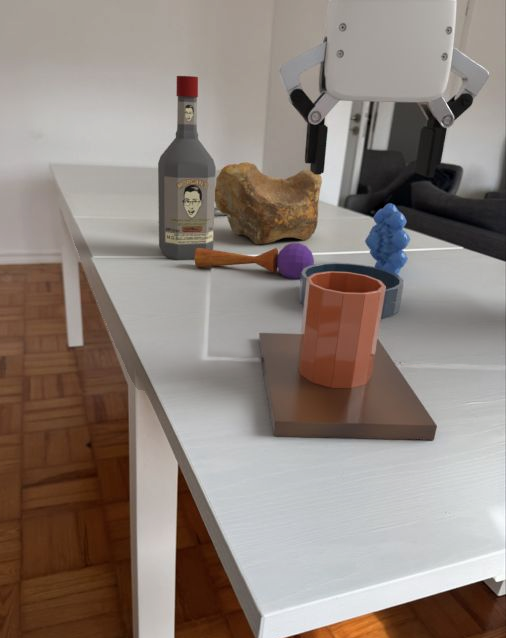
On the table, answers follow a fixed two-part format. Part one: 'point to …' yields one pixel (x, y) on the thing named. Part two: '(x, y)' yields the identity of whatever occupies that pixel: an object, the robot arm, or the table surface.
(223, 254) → the kendama
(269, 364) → the board
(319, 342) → the cup
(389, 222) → the grapes
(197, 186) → the liquor
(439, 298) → the table surface
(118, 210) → the table surface
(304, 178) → the rough brown rock
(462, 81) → the robot arm
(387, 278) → the bowl
